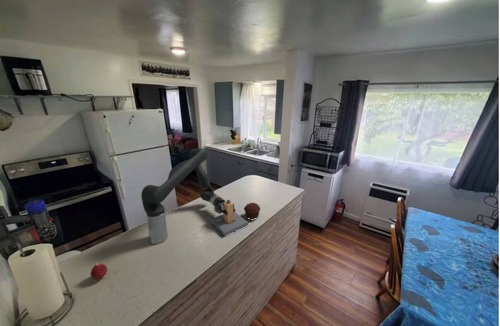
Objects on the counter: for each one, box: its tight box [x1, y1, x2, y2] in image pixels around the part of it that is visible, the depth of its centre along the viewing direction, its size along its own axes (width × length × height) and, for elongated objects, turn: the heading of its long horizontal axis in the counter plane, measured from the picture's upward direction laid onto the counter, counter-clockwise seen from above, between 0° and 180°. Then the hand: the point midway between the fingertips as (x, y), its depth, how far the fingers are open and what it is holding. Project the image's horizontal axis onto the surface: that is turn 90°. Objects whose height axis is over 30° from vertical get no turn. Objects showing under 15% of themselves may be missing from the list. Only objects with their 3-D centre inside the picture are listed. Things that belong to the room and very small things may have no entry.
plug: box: [223, 199, 234, 225], centre depth 124 cm, size 4×4×18 cm
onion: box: [90, 262, 108, 280], centre depth 85 cm, size 6×6×8 cm
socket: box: [209, 211, 249, 237], centre depth 126 cm, size 18×18×3 cm
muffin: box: [243, 202, 261, 219], centre depth 135 cm, size 12×11×10 cm
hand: (231, 212), depth 122 cm, fingers open, 5 cm apart
